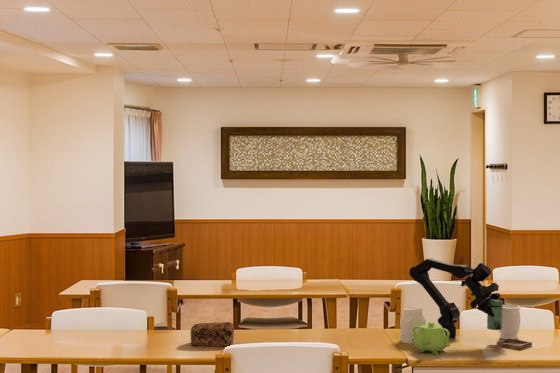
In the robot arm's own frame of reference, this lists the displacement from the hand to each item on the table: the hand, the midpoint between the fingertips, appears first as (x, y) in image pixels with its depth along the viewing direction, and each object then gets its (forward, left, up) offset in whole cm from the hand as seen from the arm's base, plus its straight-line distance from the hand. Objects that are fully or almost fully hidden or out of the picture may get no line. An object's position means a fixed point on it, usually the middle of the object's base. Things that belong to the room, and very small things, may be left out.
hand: (497, 315), depth 363 cm
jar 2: (+9, +15, -13) cm, 22 cm away
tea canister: (-1, +1, -6) cm, 6 cm away
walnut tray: (+6, -5, -13) cm, 15 cm away
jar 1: (-37, +7, -13) cm, 40 cm away
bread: (-128, -2, -14) cm, 129 cm away
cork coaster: (-4, -12, -13) cm, 18 cm away
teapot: (-33, -15, -13) cm, 39 cm away
